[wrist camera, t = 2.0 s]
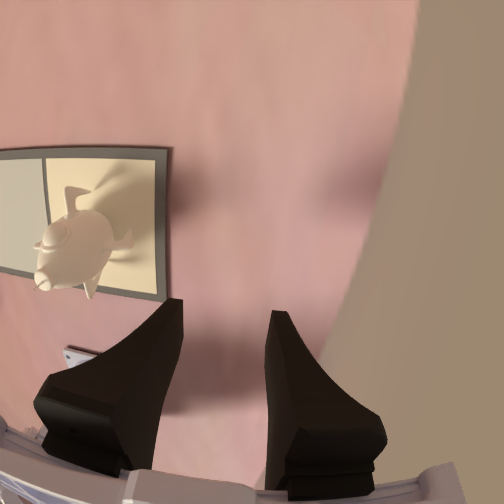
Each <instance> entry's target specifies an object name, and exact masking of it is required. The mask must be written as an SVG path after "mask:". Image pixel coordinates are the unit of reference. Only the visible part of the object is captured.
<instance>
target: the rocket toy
mask: <svg viewBox="0 0 504 504" xmlns="http://www.w3.org/2000/svg"><path fill="white" fill-rule="evenodd" d="M63 193H64V201H65V207H66V215H64V216H62V217H61V218H60V219H58V220H57V221H56V222H53V223H51V224H50V225H49V226H48V227H47V228H46V230H45V232H44V234H43V239H42V240H41V241H39V242H38V243H36V244H35V245H34V246H33V248H34V249H40V250H39V254H38V261H37V269H38V270H37V271H36V272H35V275H34V279H35V282H36V284H37V287H36V288H35V289H34V290H36V289H37V288H38V287H39V288H40V289H42V290H44V291H50V290H51V289H52V288H69V287H74V286H77V285H80V284H82V283H83V284H84V287H85V291H86V294H87V296H88V298H89V299H92V298H93V296H94V294H95V291H96V288H97V285H98V282H99V280H100V277H101V273H102V270H103V268H104V267H105V265H106V264H107V262H108V260H109V258H110V256H111V253H112V251H126V250H130V249H131V248H132V247H133V232H132V229H131V228H130V229H129V230H128V232H127V234H126V236H125V237H124V239H122V240H120V241H114V237H113V231H112V227H111V225H110V223H109V221H108V219H107V218H106V217H105V216H104V215H102V214H101V213H99V212H97V211H94V210H88V209H83V210H77V208H76V203H75V202H76V198H77V197H78V196H81V195H85V194H89V193H91V191H89V190H87V189H83V188H79V187H73V186H66V187H65V188H64V192H63ZM93 277H94V278H93ZM92 278H93V279H92Z"/></svg>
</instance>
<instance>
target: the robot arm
mask: <svg viewBox="0 0 504 504" xmlns="http://www.w3.org/2000/svg"><path fill="white" fill-rule="evenodd" d="M183 337H184V333H183V300H181V299H174V298H168V299H167V300H166V301H165V302H164V303H163V304H162V305H161V306H160V307H159V308H158V309H157V310H156V311H155V312H154V313H153V314H152V315H151V316H150V317H149V318H148V319H147V320H146V321H145V322H143V323H142V324H141V325H140V326H139V327H138V328H137V329H136V330H134V331H133V332H132V333H131V334H130V335H128V336H127V337H126V338H124V339H123V340H122V341H120V342H119V343H118V344H116V345H115V346H113V347H112V348H110V349H109V350H107V351H105V352H103V353H102V354H100V355H94V354H90V353H86V352H82V351H78V350H74V349H70V348H66V347H65V348H64V349H63V354H64V357H65V359H66V362H67V365H68V367H69V369H66V370H63V371H60V372H57V373H54V374H50V375H49V376H48V377H47V379H46V380H45V382H44V383H43V385H42V387H41V389H40V390H39V392H38V394H37V396H36V398H35V400H34V401H33V403H34V408H35V410H36V412H37V414H38V416H39V417H40V419H41V420H42V422H43V423H44V424H43V426H42V427H41V429H40V430H39V432H38V430H37V429H36V428H34V427H31V428H26V429H25V430H24V432H23V433H22V432H20V431H18V430H16V429H14V428H12V427H10V426H8V425H7V423H6V421H5V420H4V418H3V417H2V416H1V415H0V484H1V486H0V494H1V495H0V500H1V502H2V504H466V501H465V497H464V494H463V490H462V487H461V484H460V481H459V478H458V475H457V472H456V469H455V466H454V463H453V462H449V463H446V464H442V465H438V466H433V467H431V468H428V469H426V470H425V471H423V472H422V473H421V474H420V475H419V476H418V477H416V478H412V479H407V480H401V481H396V482H390V483H384V484H377V485H374V481H373V476H372V472H374V470H375V468H374V463H373V461H374V460H375V459H376V458H377V456H378V455H379V454H380V453H381V452H382V451H383V449H384V448H385V446H386V445H387V440H388V439H387V435H386V432H385V429H384V426H383V424H382V421H381V419H380V417H379V416H378V415H377V414H375V413H373V412H372V411H370V410H369V409H367V408H365V407H364V406H363V405H361V404H360V403H358V402H357V401H356V400H354V399H353V398H352V397H350V396H349V395H348V394H347V393H346V392H345V391H344V390H342V389H341V388H340V387H339V386H338V385H337V384H336V383H335V382H334V381H333V380H332V379H331V378H330V377H329V376H328V375H327V374H326V372H325V371H324V370H323V369H322V368H321V366H320V365H319V364H318V363H317V361H316V360H315V359H314V357H313V356H312V354H311V353H310V351H309V350H308V348H307V347H306V345H305V344H304V342H303V340H302V339H301V337H300V335H299V334H298V332H297V330H296V328H295V326H294V324H293V322H292V320H291V318H290V316H289V314H288V313H287V311H276V310H272V313H271V319H270V324H269V329H268V334H267V340H266V345H265V379H266V391H267V403H268V441H267V461H266V477H265V490H254V489H253V488H251V487H248V486H246V485H243V484H239V483H233V482H227V481H217V480H209V479H201V478H194V477H188V476H181V475H176V474H170V473H165V472H160V471H155V470H151V469H152V462H153V455H154V449H155V443H156V437H157V431H158V426H159V421H160V416H161V411H162V407H163V403H164V399H165V396H166V393H167V390H168V387H169V384H170V382H171V379H172V376H173V373H174V370H175V367H176V364H177V361H178V359H179V355H180V351H181V346H182V341H183ZM37 432H38V433H37Z"/></svg>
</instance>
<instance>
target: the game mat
mask: <svg viewBox="0 0 504 504" xmlns="http://www.w3.org/2000/svg"><path fill="white" fill-rule="evenodd" d="M167 164H168V149H160V148H134V147H58V148H33V149H17V150H3V151H0V272H3V273H7V274H11V275H16V276H20V277H25V278H29V279H34V275H35V272H36V271H37V270H38V269H37V261H38V254H39V250H40V249H34V248H33V246H34V245H35V244H36V243H38V242H39V241H41V240H42V239H43V234H44V232H45V230H46V228H47V227H48V226H49V225H50V224H51V223H53V222H56V221H57V220H58V219H60V218H61V217H62V216H64V215H66V207H65V201H64V193H63V192H64V188H65V187H66V186H73V187H79V188H83V189H87V190H89V191H91V193H89V194H85V195H81V196H78V197H77V198H76V202H75V203H76V208H77V210H83V209H88V210H94V211H97V212H99V213H101V214H102V215H104V216H105V217H106V218H107V219H108V221H109V223H110V225H111V227H112V231H113V237H114V241H120V240H122V239H124V237H125V236H126V234H127V232H128V230H129V229H130V228H131V229H132V232H133V247H132V248H131V249H130V250H126V251H112V253H111V256H110V258H109V260H108V262H107V264H106V265H105V267H104V268H103V270H102V273H101V277H100V280H99V282H98V285H97V288H96V291H95V292H101V293H107V294H113V295H119V296H125V297H131V298H137V299H144V300H150V301H157V302H165V301H166V300H167V270H166V194H167ZM93 278H94V277H93ZM93 278H92V279H93ZM34 280H35V279H34ZM74 288H79V289H84V290H85V287H84V284H83V283H82V284H80V285H77V286H74Z"/></svg>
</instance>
